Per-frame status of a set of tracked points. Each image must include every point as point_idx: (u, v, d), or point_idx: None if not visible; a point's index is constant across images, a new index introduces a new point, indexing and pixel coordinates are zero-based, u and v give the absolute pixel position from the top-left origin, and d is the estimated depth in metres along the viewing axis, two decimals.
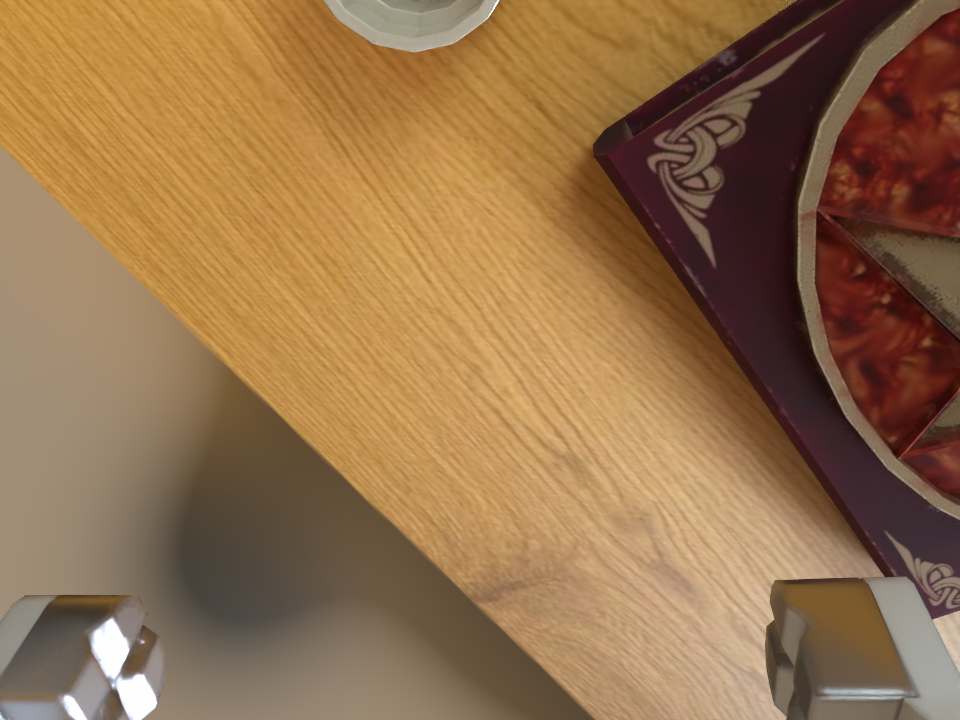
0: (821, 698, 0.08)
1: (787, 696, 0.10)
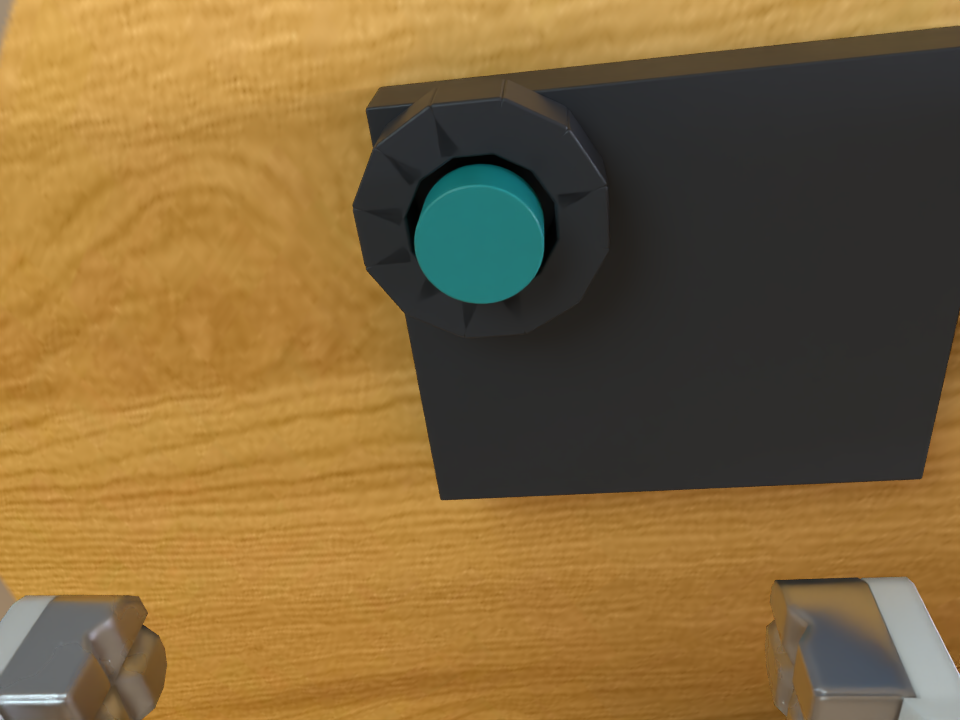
0: (821, 698, 0.08)
1: (787, 696, 0.10)
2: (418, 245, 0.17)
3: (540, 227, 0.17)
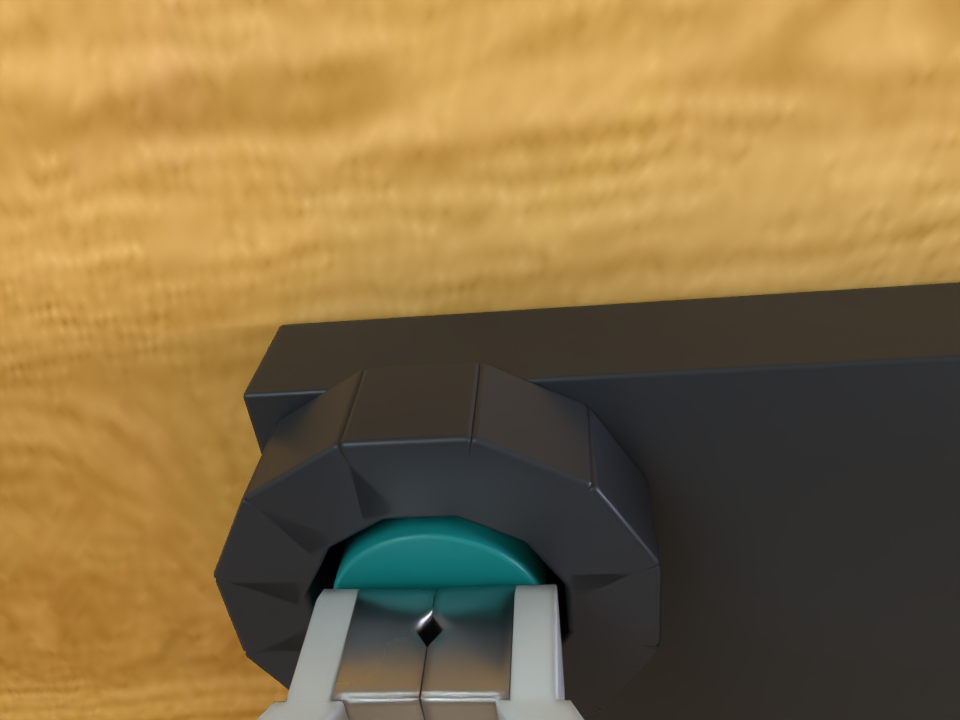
0: (428, 700, 0.09)
1: None
2: None
3: None
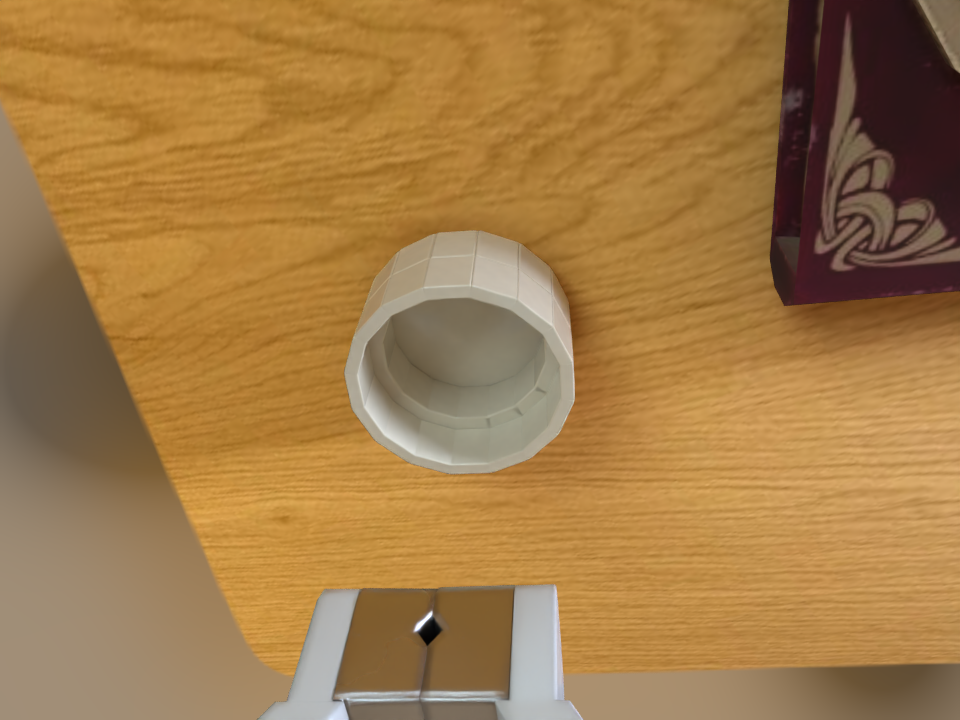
0: (427, 700, 0.09)
1: None
2: None
3: None
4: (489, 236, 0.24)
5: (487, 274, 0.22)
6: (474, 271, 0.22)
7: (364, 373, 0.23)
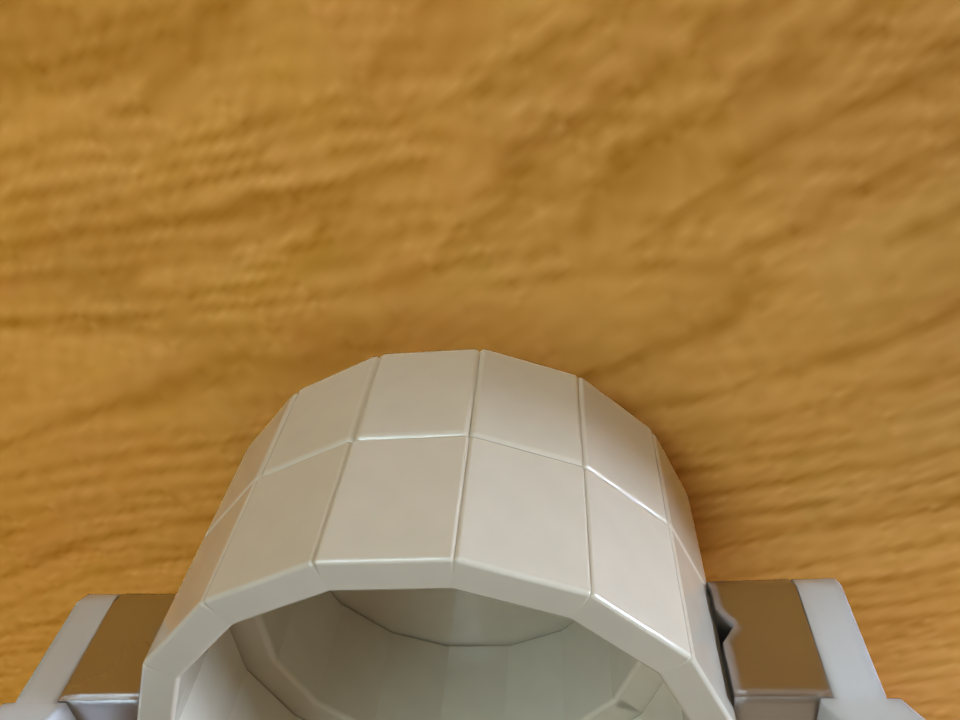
0: (741, 698, 0.08)
1: None
2: None
3: None
4: (507, 365, 0.10)
5: (503, 504, 0.08)
6: (466, 497, 0.08)
7: (203, 706, 0.10)
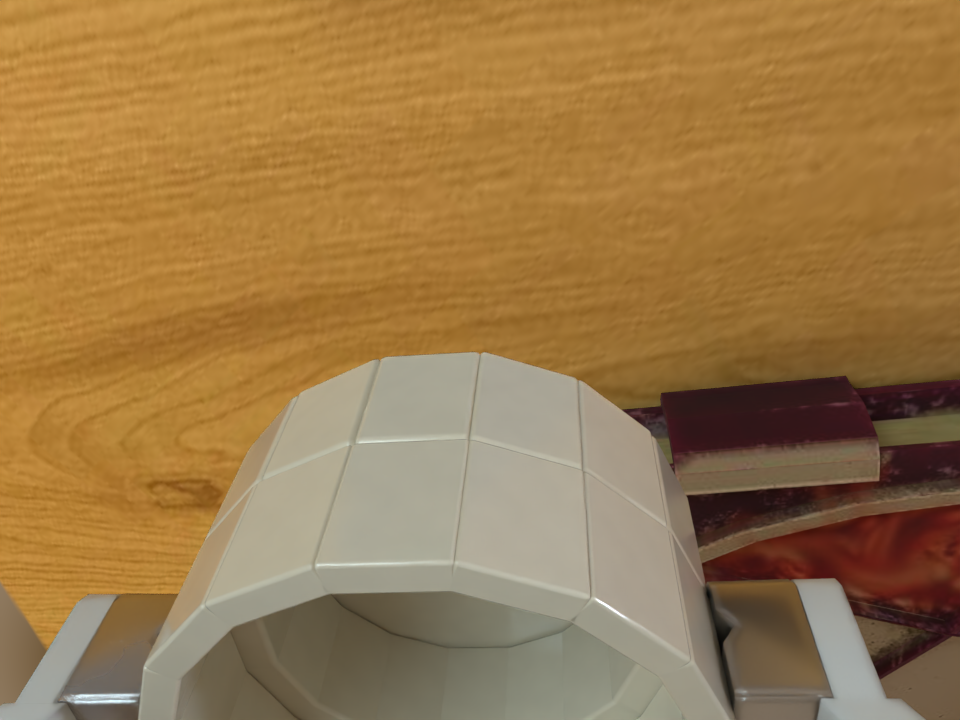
0: (741, 698, 0.08)
1: None
2: None
3: None
4: (507, 368, 0.10)
5: (503, 507, 0.08)
6: (466, 501, 0.08)
7: (203, 708, 0.10)
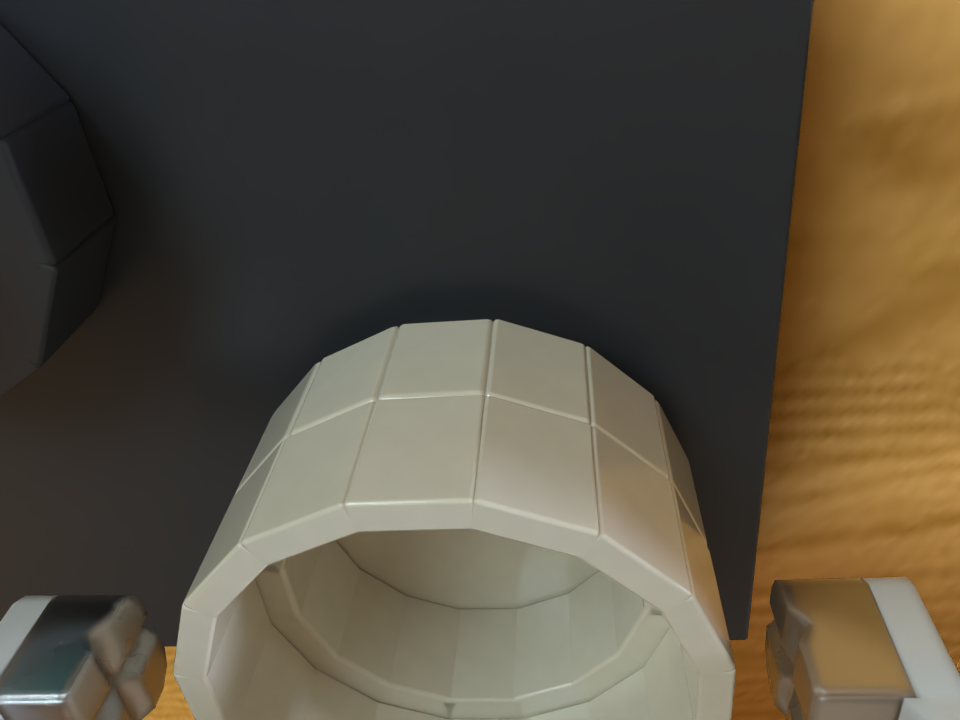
0: (821, 698, 0.08)
1: (787, 696, 0.10)
2: None
3: None
4: (519, 334, 0.10)
5: (517, 454, 0.08)
6: (483, 448, 0.08)
7: (233, 653, 0.10)
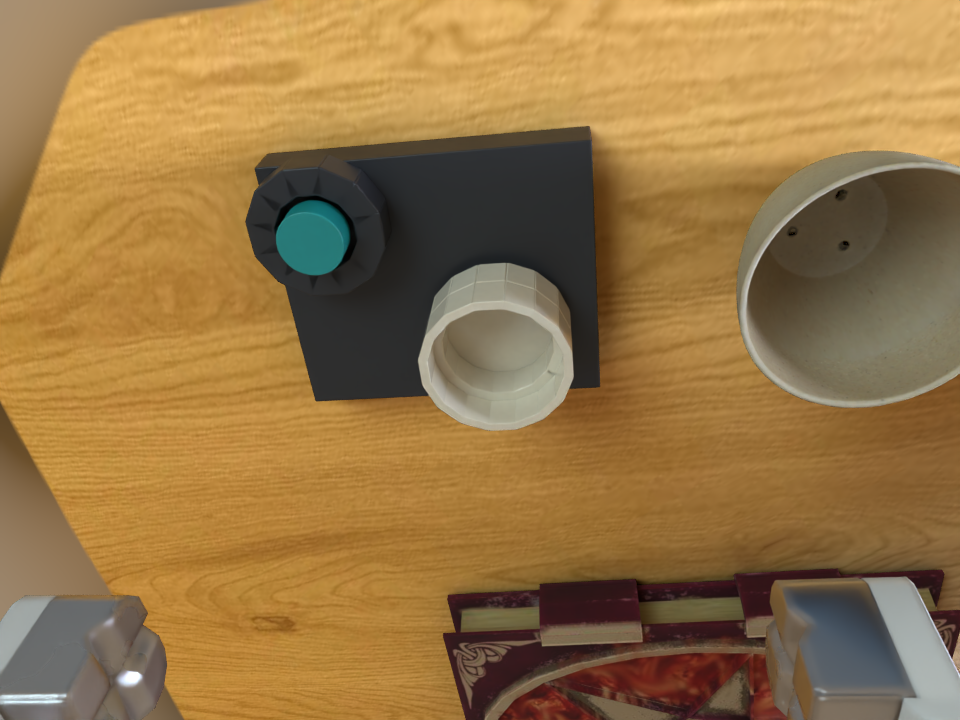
0: (821, 698, 0.08)
1: (787, 696, 0.10)
2: (278, 243, 0.33)
3: (341, 234, 0.33)
4: (514, 267, 0.35)
5: (514, 293, 0.33)
6: (505, 291, 0.33)
7: (430, 360, 0.35)
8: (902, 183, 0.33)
